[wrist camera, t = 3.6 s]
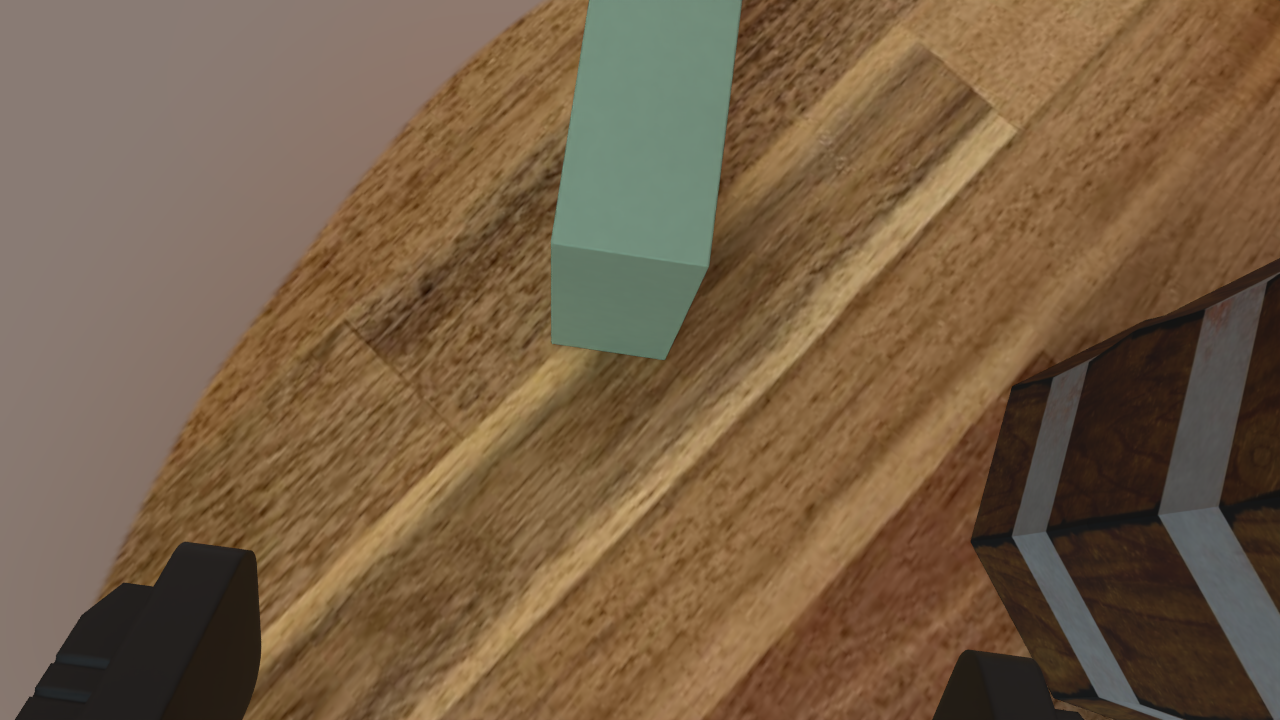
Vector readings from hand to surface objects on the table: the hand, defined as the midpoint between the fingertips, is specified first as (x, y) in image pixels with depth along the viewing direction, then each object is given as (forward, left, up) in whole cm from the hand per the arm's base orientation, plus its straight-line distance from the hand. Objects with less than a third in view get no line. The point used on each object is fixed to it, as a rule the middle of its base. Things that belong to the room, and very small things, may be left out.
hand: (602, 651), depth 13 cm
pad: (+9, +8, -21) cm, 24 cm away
